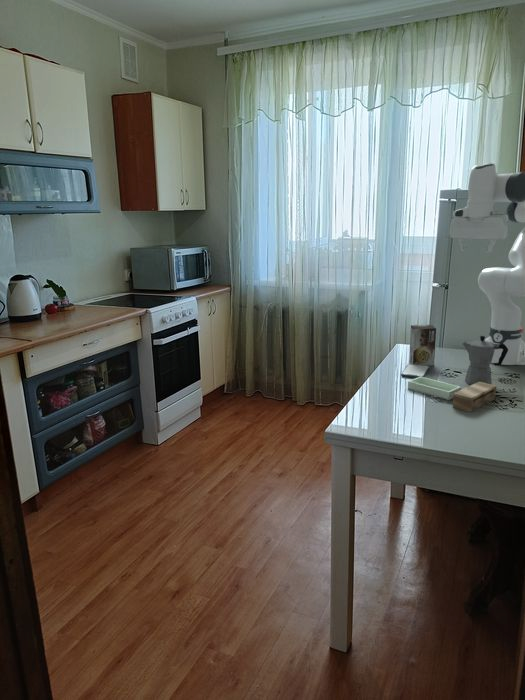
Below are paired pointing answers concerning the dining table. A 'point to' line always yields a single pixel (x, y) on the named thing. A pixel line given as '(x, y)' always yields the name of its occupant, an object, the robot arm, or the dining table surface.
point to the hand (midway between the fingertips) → (475, 251)
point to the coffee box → (422, 345)
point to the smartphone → (415, 371)
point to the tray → (433, 387)
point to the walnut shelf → (474, 396)
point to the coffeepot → (482, 360)
